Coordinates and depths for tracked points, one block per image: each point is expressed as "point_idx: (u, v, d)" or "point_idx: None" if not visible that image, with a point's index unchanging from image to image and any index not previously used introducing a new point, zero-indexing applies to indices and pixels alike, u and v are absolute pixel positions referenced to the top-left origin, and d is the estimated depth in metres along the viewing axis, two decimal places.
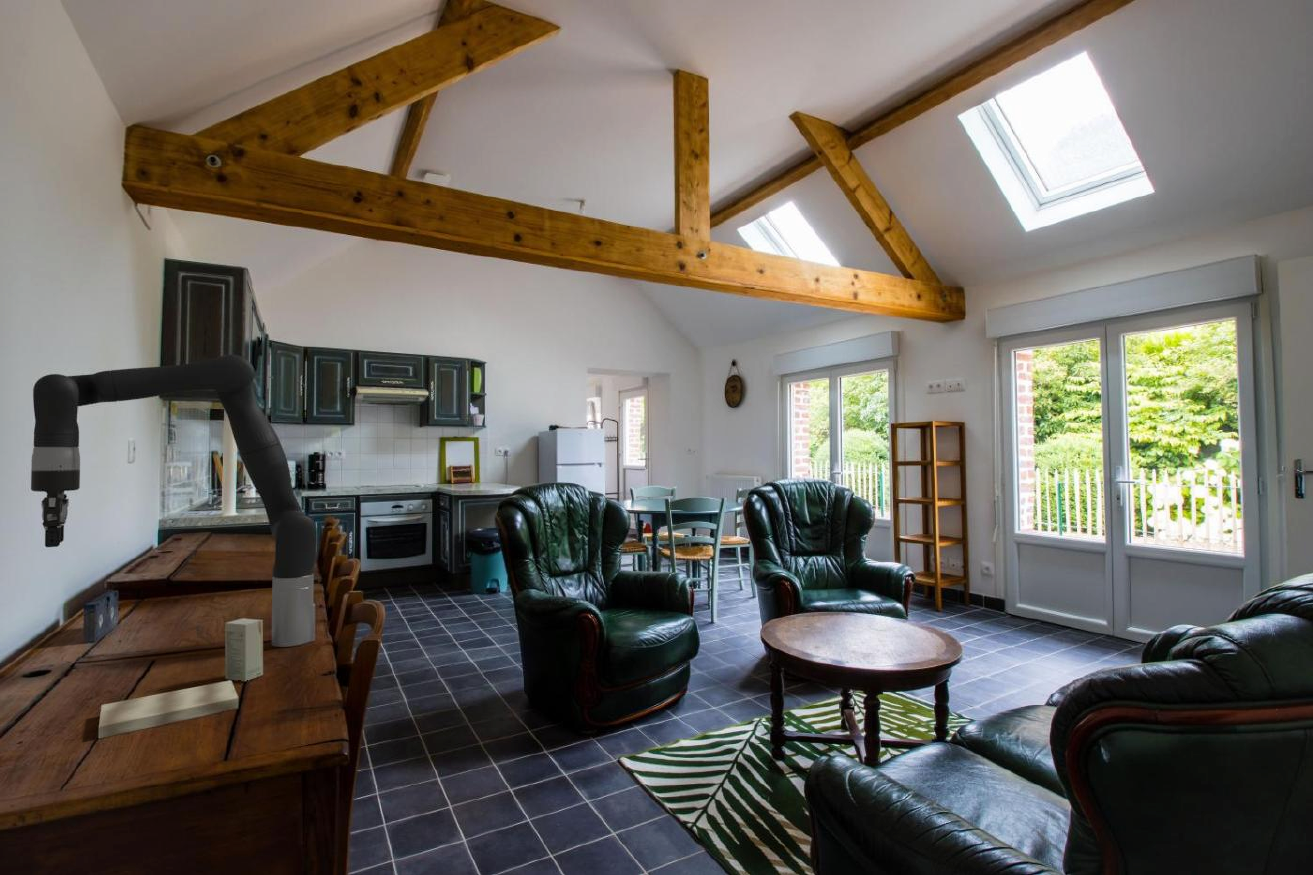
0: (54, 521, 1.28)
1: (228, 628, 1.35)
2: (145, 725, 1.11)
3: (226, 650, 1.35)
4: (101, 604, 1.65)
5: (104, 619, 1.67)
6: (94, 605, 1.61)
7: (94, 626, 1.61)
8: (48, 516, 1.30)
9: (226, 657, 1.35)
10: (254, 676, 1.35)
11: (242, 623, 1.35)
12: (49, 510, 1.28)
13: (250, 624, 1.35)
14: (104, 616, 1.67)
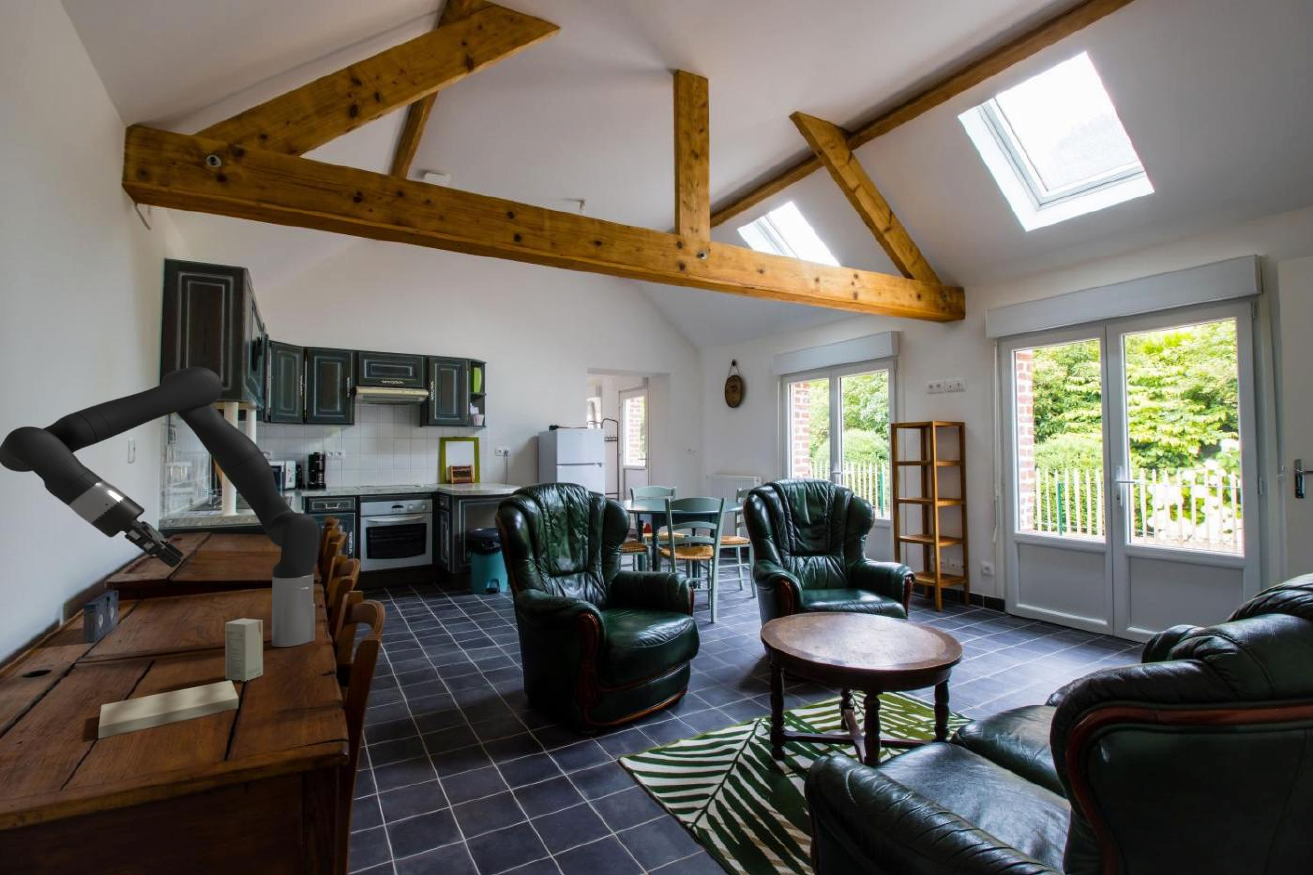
0: (154, 546, 1.23)
1: (228, 628, 1.35)
2: (145, 725, 1.11)
3: (226, 650, 1.35)
4: (101, 604, 1.65)
5: (104, 619, 1.67)
6: (94, 605, 1.61)
7: (94, 626, 1.61)
8: (146, 546, 1.24)
9: (226, 657, 1.35)
10: (254, 676, 1.35)
11: (242, 623, 1.35)
12: (140, 541, 1.21)
13: (250, 624, 1.35)
14: (104, 616, 1.67)
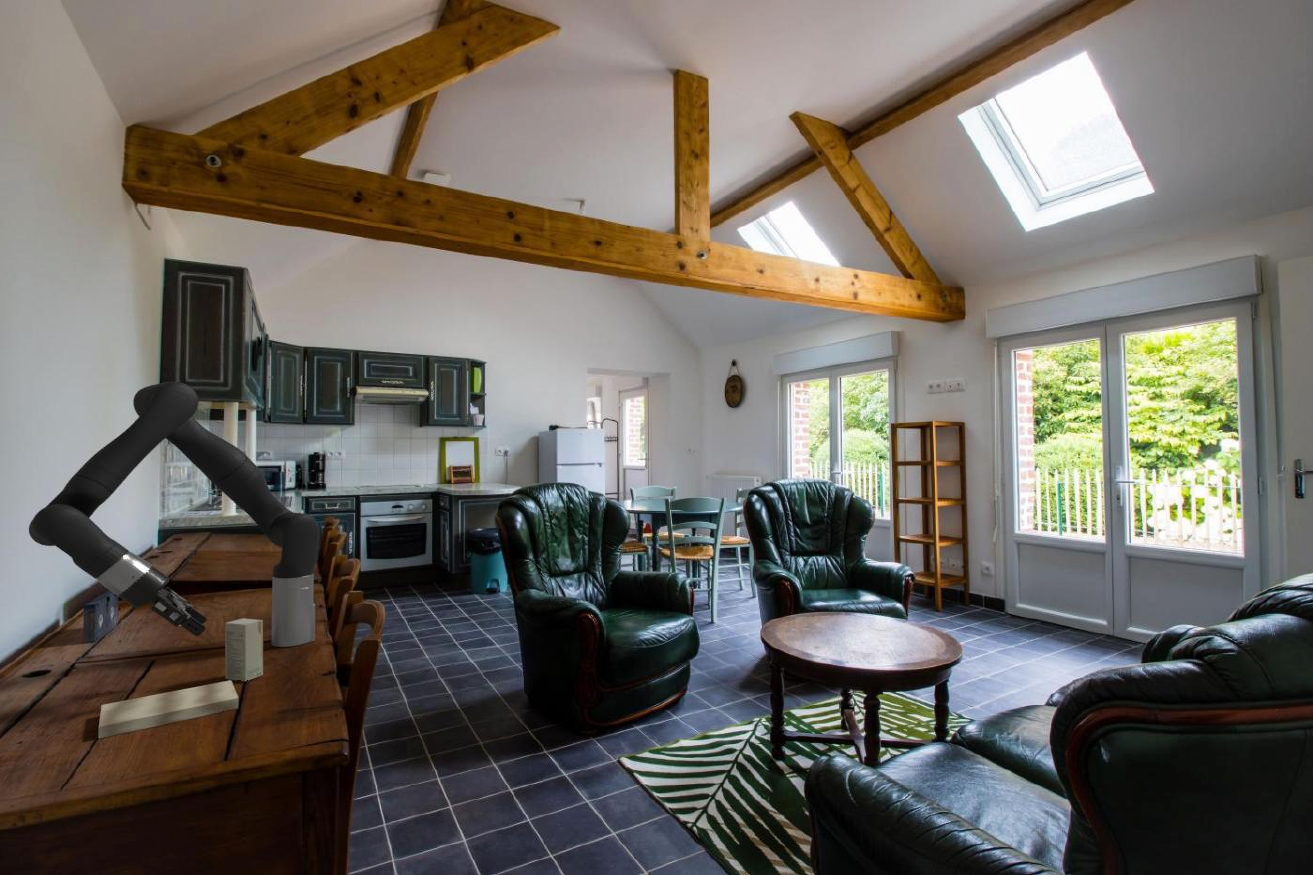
0: (180, 617, 1.25)
1: (228, 628, 1.35)
2: (145, 725, 1.11)
3: (226, 650, 1.35)
4: (101, 604, 1.65)
5: (104, 619, 1.67)
6: (94, 605, 1.61)
7: (94, 626, 1.61)
8: (172, 616, 1.26)
9: (226, 657, 1.35)
10: (254, 676, 1.35)
11: (242, 623, 1.35)
12: (166, 613, 1.24)
13: (250, 624, 1.35)
14: (104, 616, 1.67)
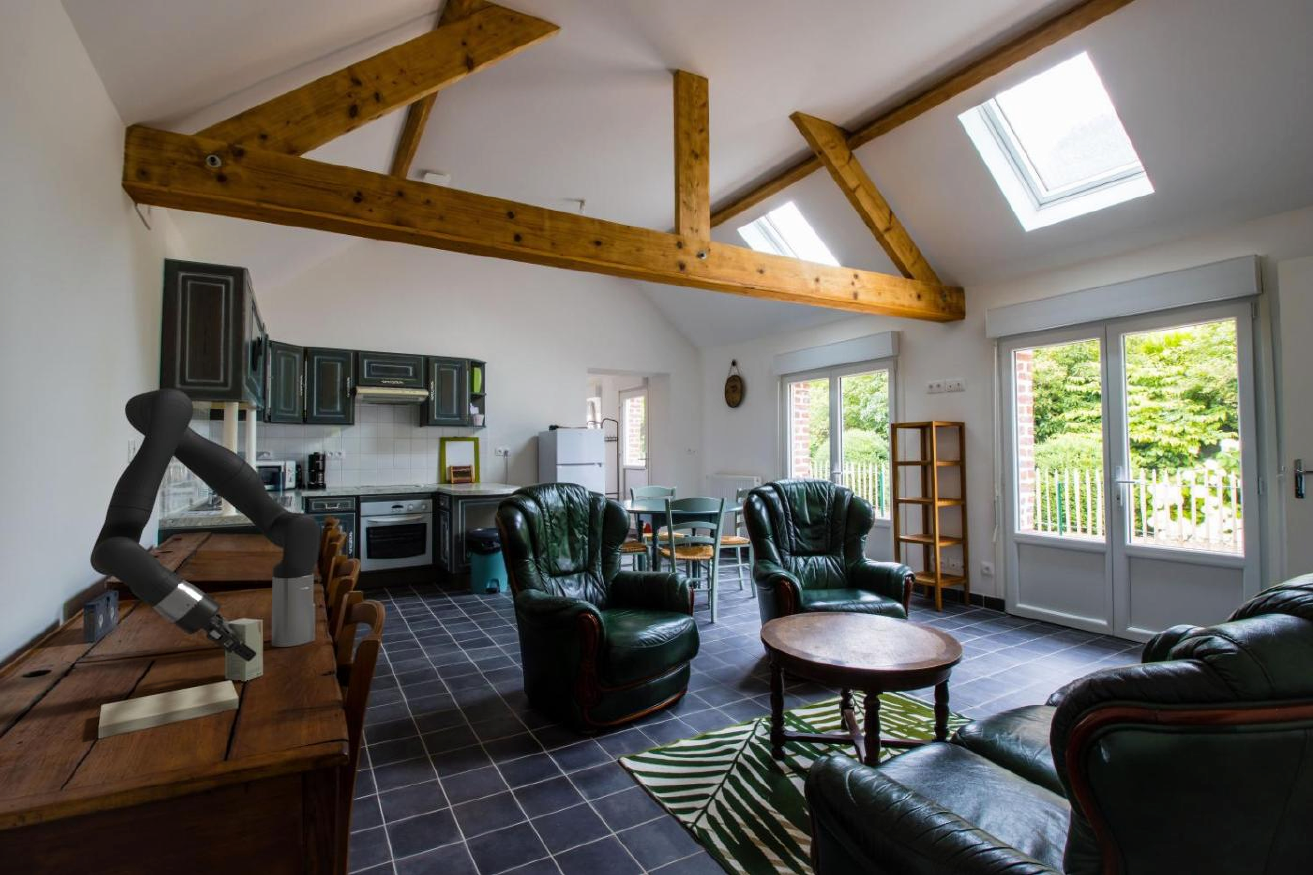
0: (233, 644, 1.30)
1: None
2: (145, 725, 1.11)
3: None
4: (101, 604, 1.65)
5: (104, 619, 1.67)
6: (94, 605, 1.61)
7: (94, 626, 1.61)
8: (225, 642, 1.31)
9: (226, 657, 1.35)
10: (254, 676, 1.35)
11: (242, 623, 1.35)
12: (221, 641, 1.29)
13: (250, 624, 1.35)
14: (104, 616, 1.67)
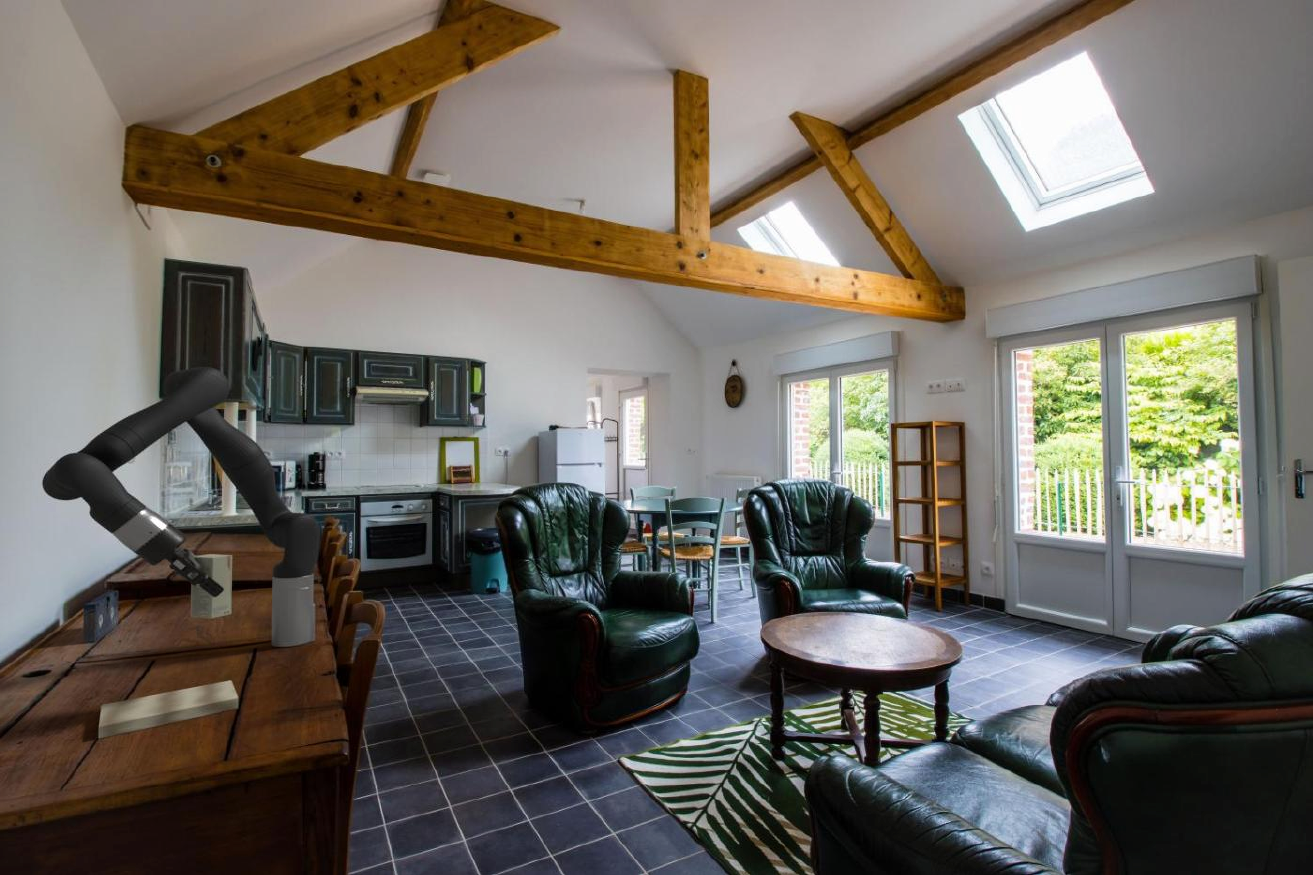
0: (198, 576, 1.21)
1: None
2: (145, 725, 1.11)
3: (192, 586, 1.26)
4: (101, 604, 1.65)
5: (104, 619, 1.67)
6: (94, 605, 1.61)
7: (94, 626, 1.61)
8: (189, 575, 1.23)
9: (192, 593, 1.26)
10: (221, 614, 1.26)
11: (210, 557, 1.26)
12: (184, 571, 1.20)
13: (218, 558, 1.26)
14: (104, 616, 1.67)
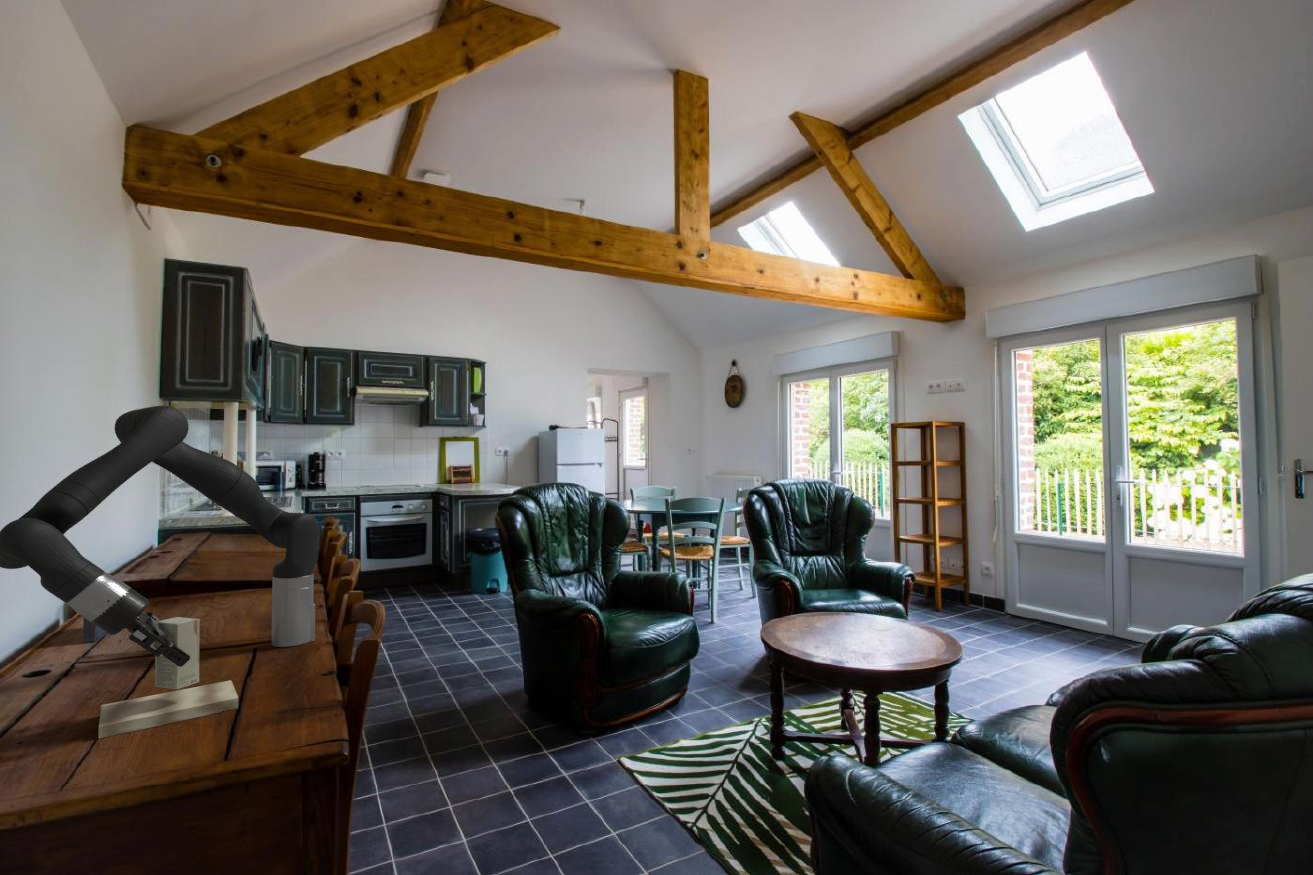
0: (161, 646, 1.12)
1: None
2: (145, 725, 1.11)
3: None
4: None
5: None
6: None
7: (94, 626, 1.61)
8: (152, 644, 1.14)
9: (156, 661, 1.18)
10: (188, 683, 1.18)
11: (174, 622, 1.17)
12: (146, 642, 1.11)
13: (184, 623, 1.17)
14: None
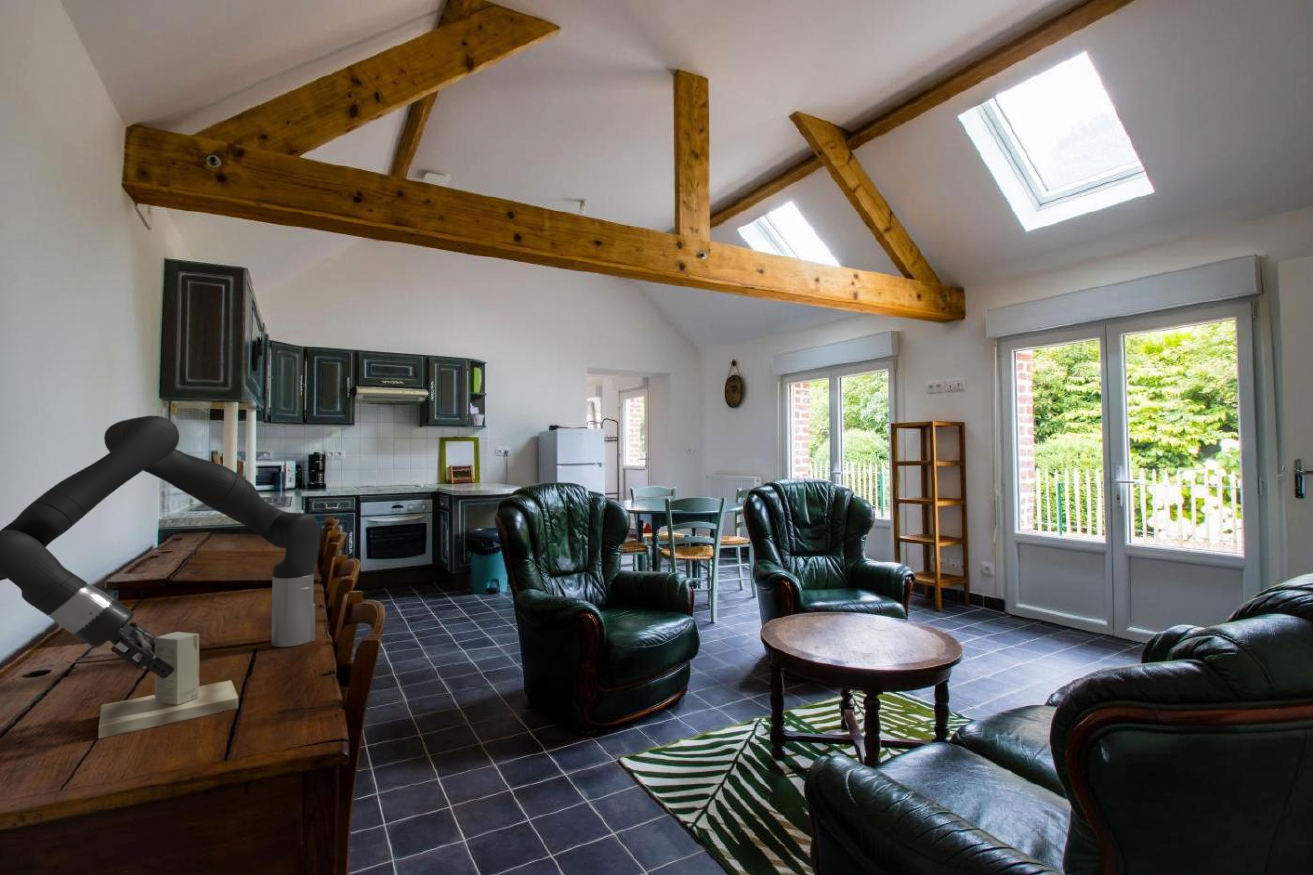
0: (144, 658, 1.11)
1: (158, 644, 1.18)
2: (145, 725, 1.11)
3: None
4: None
5: None
6: None
7: None
8: (135, 656, 1.12)
9: (156, 677, 1.18)
10: (188, 698, 1.18)
11: (174, 638, 1.17)
12: (128, 654, 1.09)
13: (183, 639, 1.17)
14: None
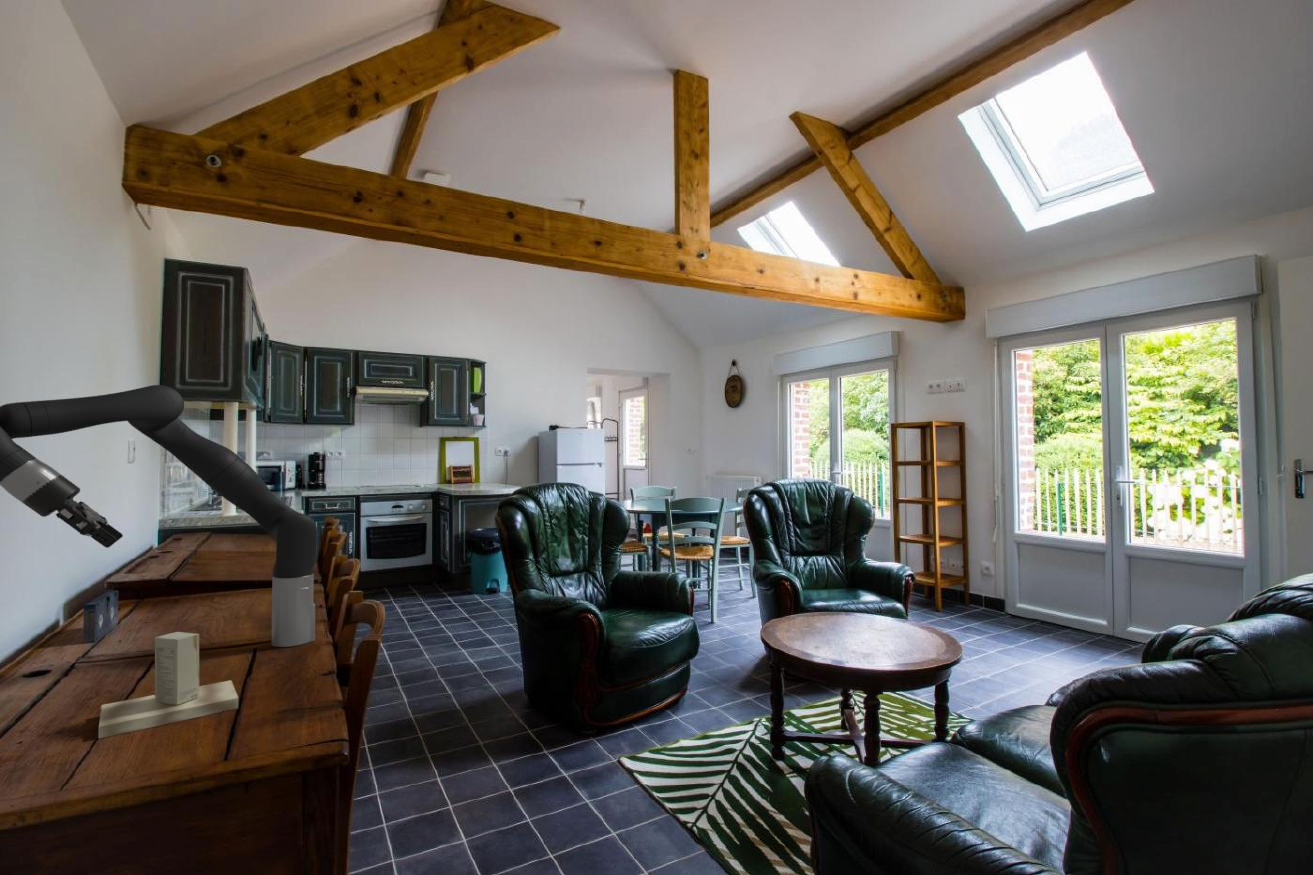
0: (87, 525, 1.21)
1: (158, 644, 1.18)
2: (145, 725, 1.11)
3: (156, 669, 1.18)
4: (101, 604, 1.65)
5: (104, 619, 1.67)
6: (94, 605, 1.61)
7: (94, 626, 1.61)
8: (80, 525, 1.22)
9: (156, 677, 1.18)
10: (188, 698, 1.18)
11: (174, 638, 1.17)
12: (72, 520, 1.20)
13: (183, 639, 1.17)
14: (104, 616, 1.67)
